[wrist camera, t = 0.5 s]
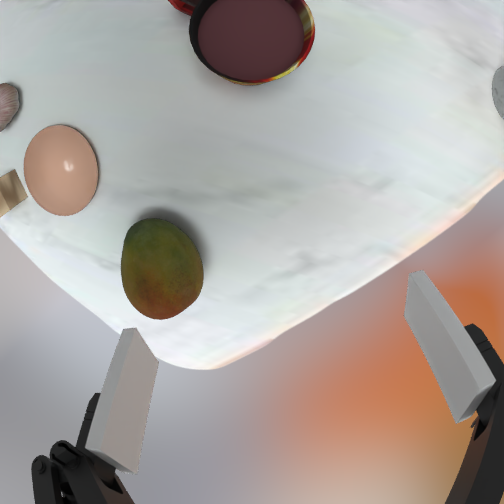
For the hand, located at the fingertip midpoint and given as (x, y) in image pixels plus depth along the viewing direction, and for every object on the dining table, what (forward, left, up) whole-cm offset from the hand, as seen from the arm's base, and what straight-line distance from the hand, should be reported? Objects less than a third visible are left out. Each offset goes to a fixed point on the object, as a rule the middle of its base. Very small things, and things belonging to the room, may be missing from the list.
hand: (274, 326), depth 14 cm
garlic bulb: (-25, -30, -27) cm, 47 cm away
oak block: (-13, -36, -26) cm, 46 cm away
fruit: (+7, -16, -26) cm, 31 cm away
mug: (-16, +2, -27) cm, 31 cm away
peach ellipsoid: (-10, -25, -26) cm, 37 cm away
